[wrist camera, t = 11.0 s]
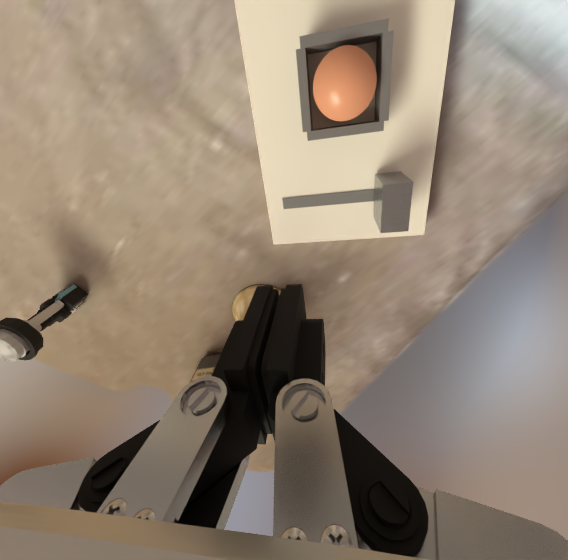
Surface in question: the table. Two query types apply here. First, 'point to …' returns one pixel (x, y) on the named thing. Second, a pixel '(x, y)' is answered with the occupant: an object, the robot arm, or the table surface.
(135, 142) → the table surface
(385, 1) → the control panel
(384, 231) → the block
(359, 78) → the terracotta button
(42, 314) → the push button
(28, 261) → the table surface
